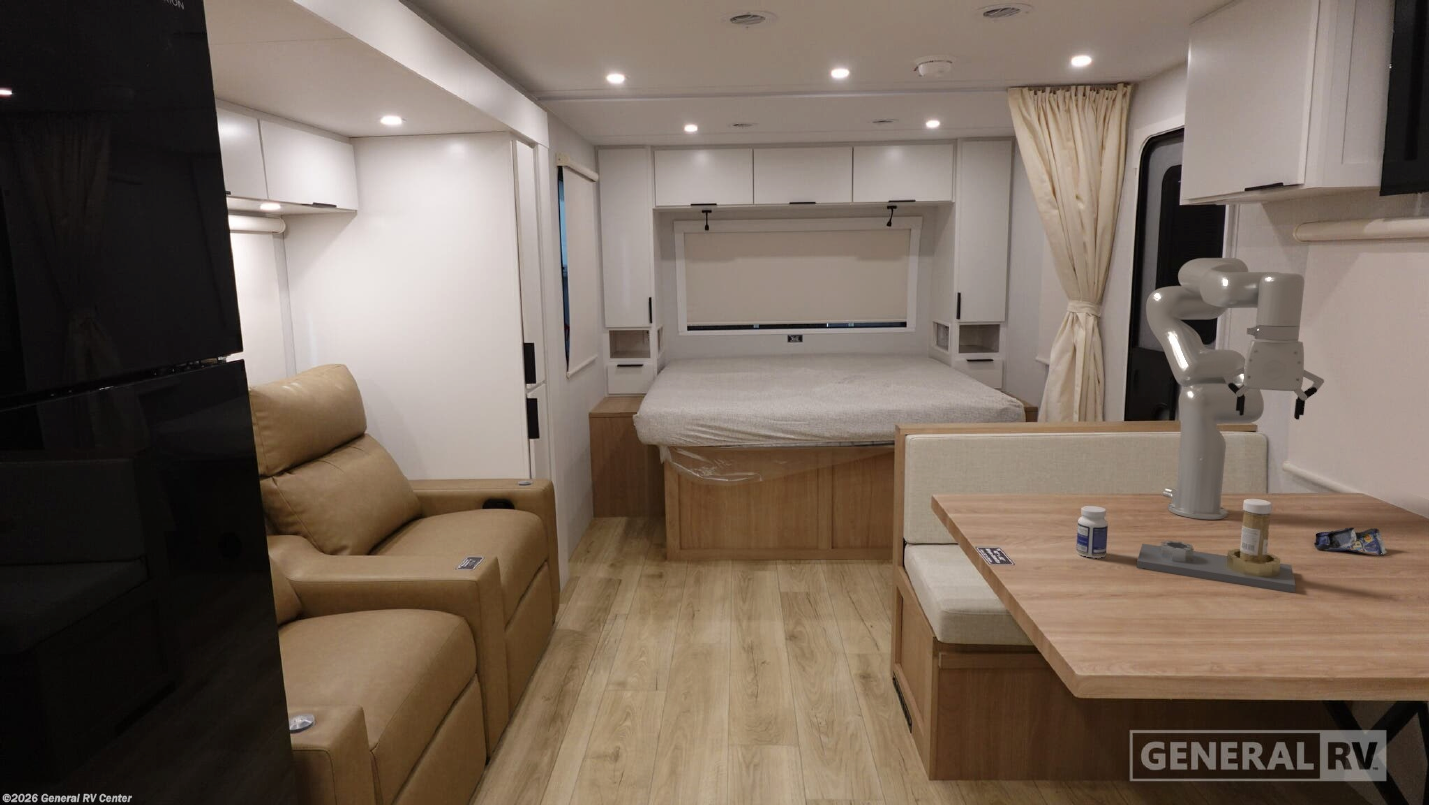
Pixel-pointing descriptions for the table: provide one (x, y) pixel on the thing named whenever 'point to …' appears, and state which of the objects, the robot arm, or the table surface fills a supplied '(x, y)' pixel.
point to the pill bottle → (1092, 532)
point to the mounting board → (1213, 569)
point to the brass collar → (1253, 565)
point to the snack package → (1351, 541)
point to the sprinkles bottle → (1255, 530)
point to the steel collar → (1176, 551)
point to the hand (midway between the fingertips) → (1268, 416)
